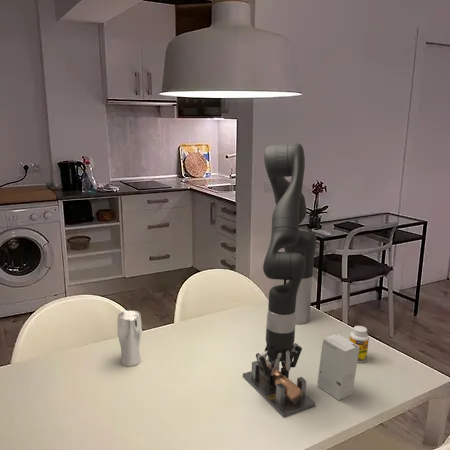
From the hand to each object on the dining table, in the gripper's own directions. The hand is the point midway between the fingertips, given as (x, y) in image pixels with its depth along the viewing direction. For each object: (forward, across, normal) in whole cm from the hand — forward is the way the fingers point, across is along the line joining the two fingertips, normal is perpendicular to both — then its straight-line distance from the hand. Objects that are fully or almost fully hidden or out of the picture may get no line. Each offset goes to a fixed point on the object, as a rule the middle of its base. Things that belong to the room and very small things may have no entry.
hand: (277, 383), depth 125 cm
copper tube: (0, 0, 0) cm, 0 cm away
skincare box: (+2, +15, -7) cm, 16 cm away
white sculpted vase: (+2, -31, +32) cm, 45 cm away
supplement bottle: (+2, +32, +3) cm, 32 cm away
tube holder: (+2, 0, 0) cm, 2 cm away
